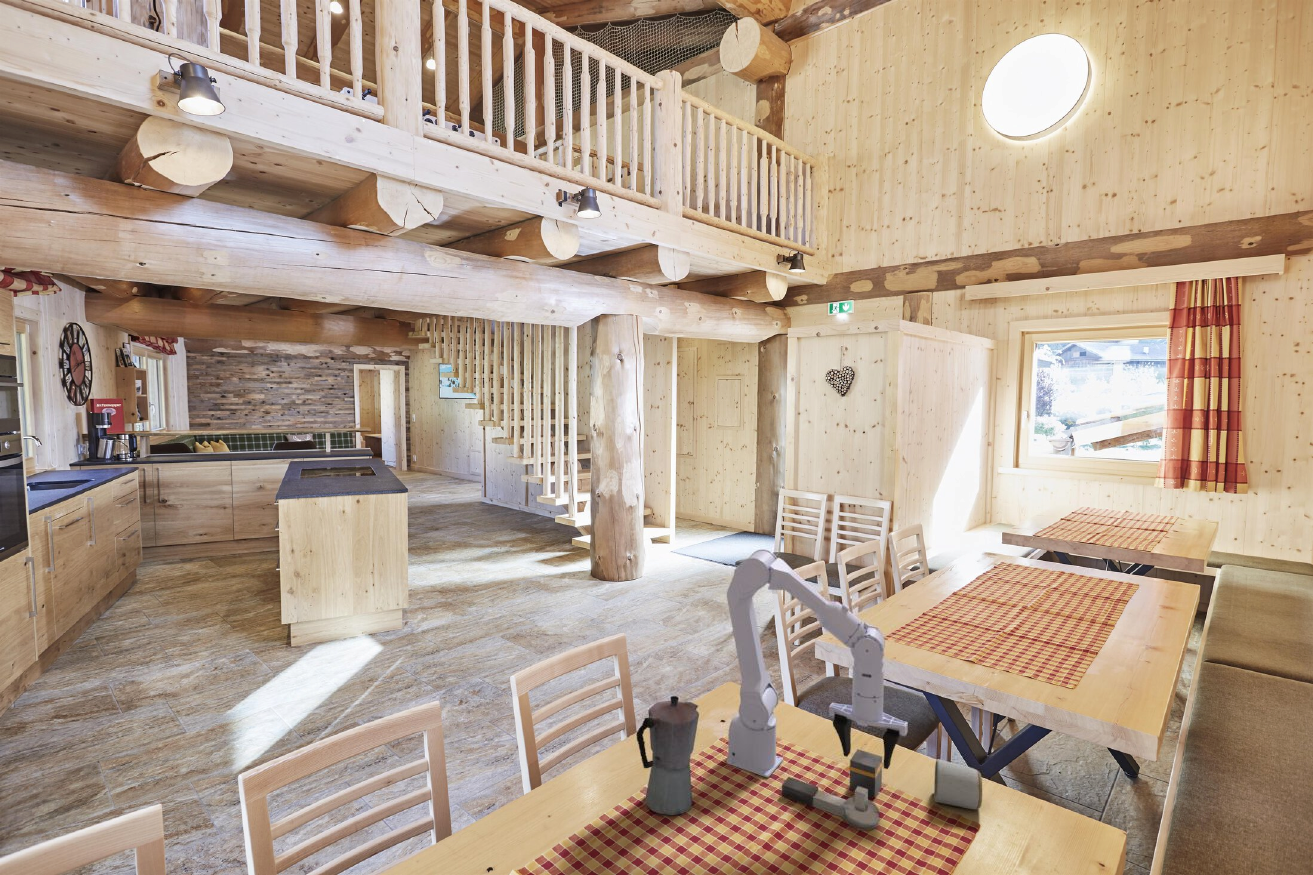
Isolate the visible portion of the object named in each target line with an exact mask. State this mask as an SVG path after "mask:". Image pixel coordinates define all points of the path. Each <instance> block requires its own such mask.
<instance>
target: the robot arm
mask: <svg viewBox="0 0 1313 875" xmlns="http://www.w3.org/2000/svg"><path fill="white" fill-rule="evenodd" d="M733 571H734V572H733V575H732V579H731V581H730V583H729V586H728V588H727V591H726V600H727V605H728V610H729V616H730V620H731V627H732V632H733V637H734V643H735V650H736V654H737V659H738V664H739V671H740V676H741V681H740V688H739V697H740V703H739V706H738V714H737V713H736V714H735V715H734V716H733V717H732V719H731V721H730V723H729V727H728V740H727V741H728V749H727V751H728V752H727V753H728V754H727V759H726V764H729V765H730V766H734V767H736V768H739V769H742V770H745V771H748V772H749V773H750V772H751V773H753V774H757V775H759V776H761V777H764V778H769V777H770V776H771V775H772V774H773V773H774V771H775V770H777V768H778V767H779V766H780V765H781V764H782V763H783V761H784V758H783V757H782V756H778V755H777V719H776V716H775V713H774V710H775V708H776V707H777V706H778V704H779V698H780V697H779V693H778V691H777V689H776V688H775V686H774V685H773V682H772V679H771V678H772V677H771V676H770V674H769V673H768V672H767V669H766V664H765V659H764V655H763V649H762V648H763V647H762V643H761V638H760V632H759V628H758V622H757V616H756V612H755V605H754V602H753V601H754V600H753V598H754V596H755V594H756V593H757V592H758V591H759V590H761V589H762V588H764V587H765V586H766V585H767V584H768V588H767V590H770V591H786V592H787V593H789V595H791V596H792V597H794V598H795V599H796V600H798V601H799V602H800V603H801V604H803V605H804V606H805V607H807V608H808V609H809V610H811V611H813V612H814V613H815V614H816V615H817V617H818V622H819V624H820V626H821V627H823V629H825V630H826V631H827V632H828V633H830V634H831V635H832V636H833V637H835V638H836V639H837V640H838V641H840V643H842V644H843V645H844V646H845V647H847V648H850V652H851V656H852V658H853V666H852V693H851V696H852V699H851V702H852V703H851V704H843V703H842V704H841V703H836V702H832V703H830V705H829V706H828V716H830V717H834V719H833V720H832V725H833V728H834V729H835V731H836V732H835V733H837V736H838V738H839V741H840V743H841V749H842V754H843V756H844V757H847V758H848V757H849V755H850V753H851V750H852V749H851V748H852V744H851V743H852V740H851V739H852V738H851V733H852V732H851V731H852V722H853V721H854V722H856V725H858V726H862V727H864V728H865V727H868V726H873V727H876V728H880V729H883V730H885V732H884V734H883V735H882V741H883V753H884V754H883V762H882V763H883V769H886V770H888V769H889V768H890V766H891V763H892V762H891V761H892V756H893V753H894V750H895V747H896V744H897V742H898V741H899V738H900V736H902V737H906V736H907V734H908V729H909V728H908V727H909V726H908V724H909V723H908V721H904V720H902V719H899V718H897V717H894V716H892V715H890V714H887V713H885V712H884V685H885V683H884V680H885V679H884V678H885V677H884V674H885V670H884V668H883V667H884V660H883V659H884V657H885V656H884V655H885V653H884V652H885V651H884V650H885V648H886V647H885V646H886V640H885V637H884V635H883V633H882V632H881V631H880V629H879V628H878V627H877V626H875V625H871V624H869V622H867V621H865V622H863V621H862V620H861V619H860V618H859V617H858V616H856V615H855V613H854V614H853V612H851V611H850V610H849V609H850V606H849V605H848V604H846V603H843V604H841V603H840V602H839V601H828V600H827V599H826V598H825V597H824V596H823V595H822V594H820V593H819V592H818V591H817V590H816V589H815V588H814V587H812V586H811V585H810V584H809V583H808V582H807V581H806V580H804V578H802V577H801V576H800V575H799V574H798V573H797V572H796V571H795V570H794V569H792V568H791V567H790V565H789V564H788V563H787V562H786V561H785V560H784V559H782V558H780V557H777V556H776V555H775V553H774V552H772V551H771V550H769V549H763V548H762V549H761V548H760V549H757V550H756V551H754V552H753V553H752V554H751V555H750V556H749V557H748V558H746V559H744V560H743V561H742V562H741V563H740V564H739V565H738V566H737V567H736V568H735V569H734V570H733Z"/></svg>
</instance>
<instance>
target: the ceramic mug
mask: <svg viewBox="0 0 1313 875" xmlns="http://www.w3.org/2000/svg"><path fill="white" fill-rule="evenodd" d="M933 783H934V785H933V792H934V797H933V798H934V802H936V803H940V804H945V805H949V806H953V807H960V808H964V809H968V810H978V809H981V808H982V802H983V779H982V774H981V772H980V771H979V770H977V769H975V768H973V767H969V766H966V765H962V764H959V763H954V762H950V761H947V760H944V759H939V758H937V759H936V760H935V764H934V782H933Z"/></svg>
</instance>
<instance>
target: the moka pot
mask: <svg viewBox="0 0 1313 875" xmlns="http://www.w3.org/2000/svg"><path fill="white" fill-rule="evenodd" d="M679 700H680V699H679V697H678V696H676V695H671V696H670V700H664V701H656V702H655V703H654V704H653V705H652V706H651V707H650V708H649V709H648V711H647V712H648V713H647V714H648V717H645V718H644V719H643V721H642V723H641V726H640V727H639V728H638V730H637V732H636V734H635V735H636V742H637V745H638V749H639V753H640V758H641V762H642V766H643V768H644V769H650V772H649V779H648V782H647V789H646V793H645V799H644V800H645V804H646V806H647V807H648V808H649V809H650V811H652V812H654V813H657V814H659V815H665V816H666V815H667V816H676V815H682V814H684V813H686V812H687V811H689V810H690V809H691V807H692V804H693V790H692V779H691V778H692V777H691V776H692V775H691V755H692V754H693V751H694V746H695V741H696V735H697V729H698V722H699V718H700V713H699V711H698V710H697V709H698V708H699V705H698V704H695V703H694V702H690V701H685V702H684V701H683V702H682V701H679ZM647 728H648V729H649V741H650V749H651V751H652V754H651V755H652V756H651V757H652V758H651V760H650V761H649V760H648V757H647V753H646V745H645V741H646V740H644V733H645V730H647Z"/></svg>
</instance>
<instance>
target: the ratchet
mask: <svg viewBox="0 0 1313 875" xmlns="http://www.w3.org/2000/svg"><path fill="white" fill-rule="evenodd" d="M781 796H782V797H784V798H787V799H790V800H792V801H795V802H798V803H800V804H803V805H806V806H808V807H811V808H817V809H819V810H822V811H825V812H826V813H830V814H833V815H836V816H839V817H841V818H843V819H844V822H846V824H848V826H850V827H852V828H854V829H856V830H861V831H871V830H874V829H876V828H878V826H879V816H880V814H879V812H880V810H879V808H878V806H877V804H876V803H874V802H873V801H871V800H869V797H868V789H865V788H862V787H859V786H858V787H857V788H856V790H855V792H854V796H853V797H849V798H847V799H845V798H841V797H839V796H836V795H834V794H831V793H828V792H825V791H822V790H819V787H818V786H816V785H814V784H811V783H808V782H805V781H802V780H799V779H796V778H793V777H790V776H788V777H787V778H786V779H785V781H783V783H782V784H781Z"/></svg>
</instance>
